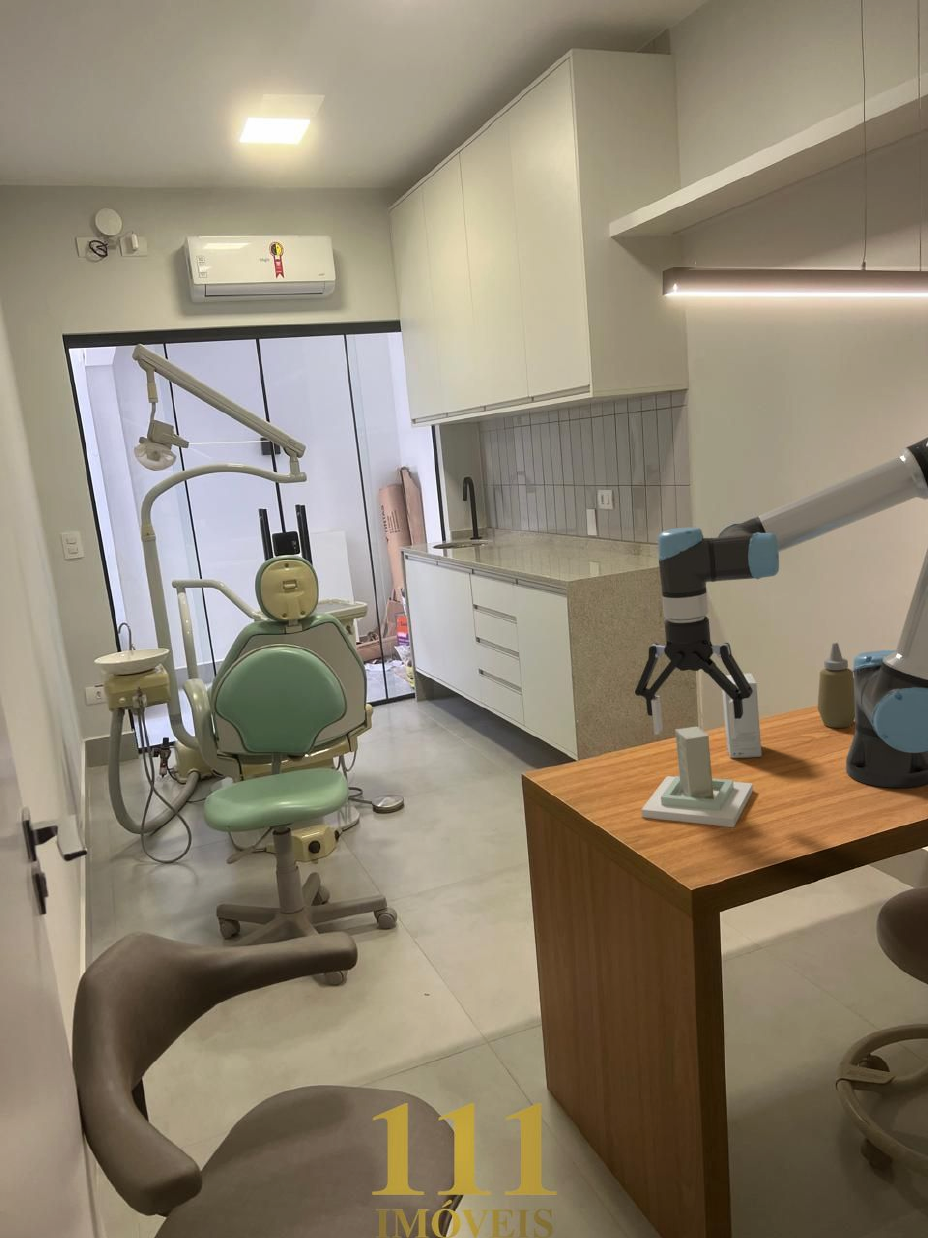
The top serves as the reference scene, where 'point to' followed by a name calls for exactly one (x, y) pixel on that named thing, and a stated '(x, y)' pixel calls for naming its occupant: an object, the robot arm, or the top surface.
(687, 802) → the collar plate
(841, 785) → the top surface
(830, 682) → the squeeze bottle
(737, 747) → the skincare box
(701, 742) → the skincare box
